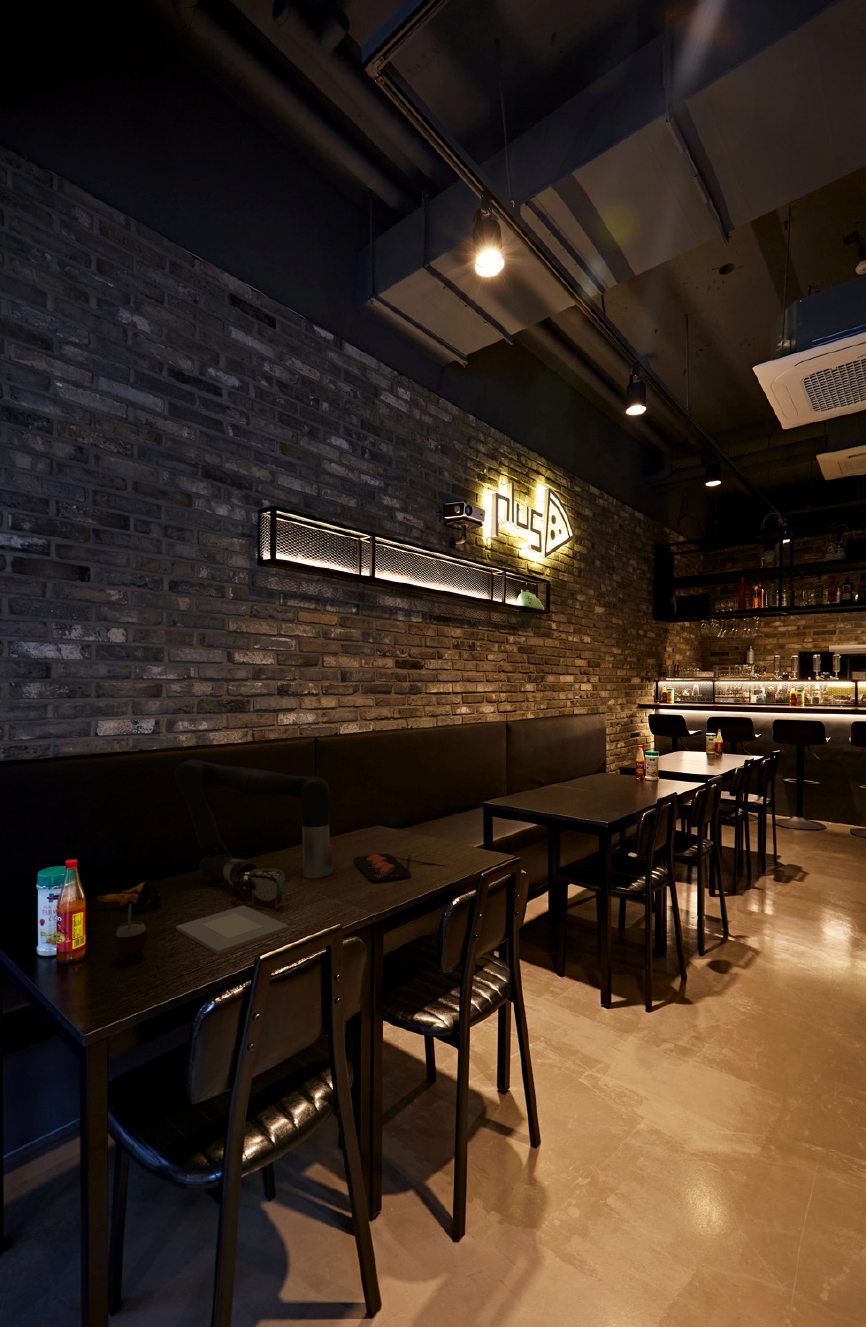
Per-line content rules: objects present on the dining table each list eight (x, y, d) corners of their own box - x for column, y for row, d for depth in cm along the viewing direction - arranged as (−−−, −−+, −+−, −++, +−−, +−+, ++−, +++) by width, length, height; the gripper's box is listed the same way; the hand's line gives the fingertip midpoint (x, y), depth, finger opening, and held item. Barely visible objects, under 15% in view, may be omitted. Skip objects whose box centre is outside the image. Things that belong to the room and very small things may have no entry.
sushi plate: (350, 862, 225) (350, 852, 225) (426, 852, 236) (426, 842, 236) (371, 886, 198) (371, 874, 198) (456, 873, 209) (456, 862, 209)
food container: (294, 905, 181) (293, 871, 181) (278, 912, 176) (278, 877, 176) (265, 898, 188) (265, 866, 188) (249, 905, 182) (249, 871, 183)
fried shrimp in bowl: (158, 898, 177) (94, 883, 174) (150, 927, 180) (88, 913, 177) (169, 877, 186) (108, 862, 183) (162, 905, 189) (102, 891, 186)
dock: (243, 908, 179) (243, 904, 180) (288, 929, 163) (288, 925, 163) (176, 929, 165) (176, 925, 165) (218, 955, 148) (218, 950, 148)
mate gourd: (132, 951, 152) (132, 890, 153) (156, 955, 149) (155, 893, 150) (106, 963, 145) (106, 900, 146) (130, 968, 142) (130, 904, 143)
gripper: (218, 865, 190) (244, 876, 179) (259, 855, 200) (286, 864, 189) (219, 890, 190) (245, 902, 179) (260, 878, 200) (287, 889, 189)
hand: (266, 882), depth 184 cm, fingers open, 8 cm apart
